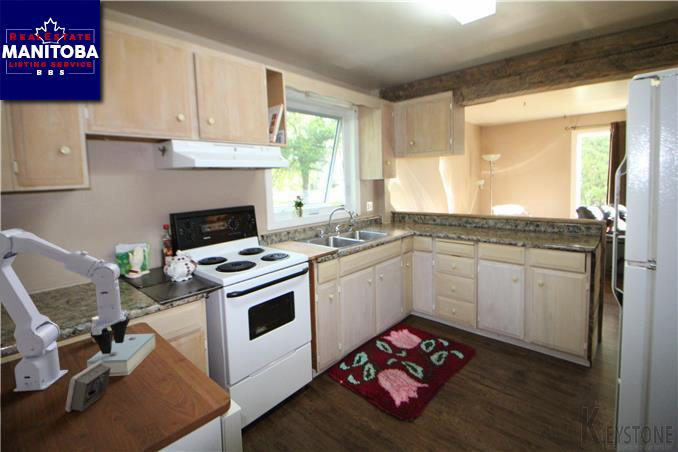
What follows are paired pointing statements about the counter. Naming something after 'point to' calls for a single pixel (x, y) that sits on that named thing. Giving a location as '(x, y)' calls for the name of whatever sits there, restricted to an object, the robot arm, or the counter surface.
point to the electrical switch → (87, 386)
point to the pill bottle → (94, 321)
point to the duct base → (127, 367)
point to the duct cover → (123, 349)
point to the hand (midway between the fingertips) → (113, 347)
